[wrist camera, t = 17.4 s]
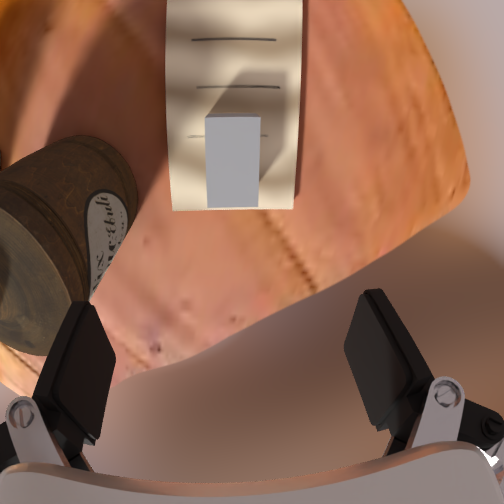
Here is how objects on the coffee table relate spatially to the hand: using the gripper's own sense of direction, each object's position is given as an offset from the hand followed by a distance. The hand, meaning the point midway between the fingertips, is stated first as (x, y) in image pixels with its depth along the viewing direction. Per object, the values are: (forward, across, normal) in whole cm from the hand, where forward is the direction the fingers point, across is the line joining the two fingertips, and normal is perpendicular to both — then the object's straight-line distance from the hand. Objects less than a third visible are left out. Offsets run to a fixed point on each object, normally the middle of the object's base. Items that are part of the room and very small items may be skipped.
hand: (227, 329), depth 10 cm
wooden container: (+25, +17, +4) cm, 30 cm away
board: (+24, -1, -6) cm, 25 cm away
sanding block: (+22, -1, -1) cm, 23 cm away
